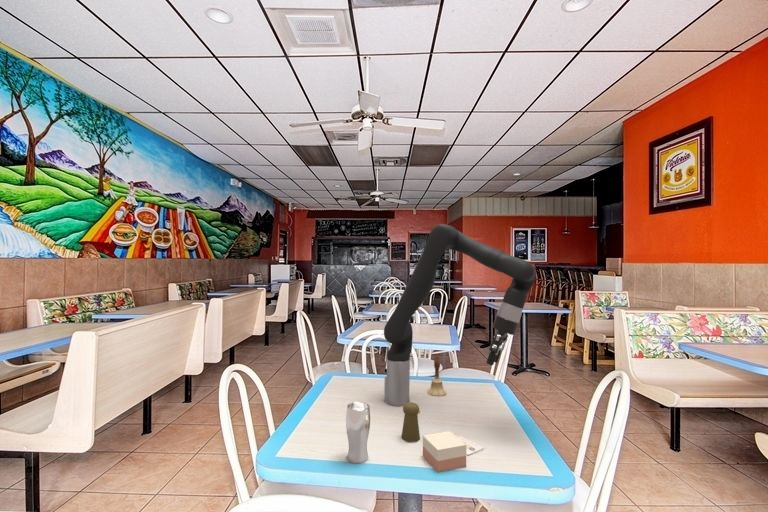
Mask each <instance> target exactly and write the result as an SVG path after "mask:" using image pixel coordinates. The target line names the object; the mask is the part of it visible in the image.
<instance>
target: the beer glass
mask: <svg viewBox="0 0 768 512" xmlns="http://www.w3.org/2000/svg"><path fill="white" fill-rule="evenodd" d="M370 407H371V406H370V404H369V403H367V402H364V401H355V402H354V401H352V402H350V403H348V404H347V405H346V415H345V416H346V418H345V429H346V435H347V441H348V450H347V451H348V452H347V455H346V459H347V461H348V462H350V463H351V464H356V465H357V464H362V463H363V464H364V463H366V462H367V461H368V460H369V453H368V439H369V435H370V429H371V409H370Z"/></svg>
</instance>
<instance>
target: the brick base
mask: <svg viewBox="0 0 768 512" xmlns="http://www.w3.org/2000/svg"><path fill="white" fill-rule="evenodd" d="M422 457H423V458H424V460H426V461H427V463H429V465H430V466H431V467H432V468H433V469H434V470H435V472H437V473H440V472H445V471H450V470H454V469H460V468H465V466H466V467H467V455H466V444H465V443H464V442H462V441H461V440H460V439H459V438H458V436H457V435H455V434H454V433H452V431H449V430H448V431H443V432H442V431H441V432H437V433H431V434H424V435H422Z"/></svg>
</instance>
